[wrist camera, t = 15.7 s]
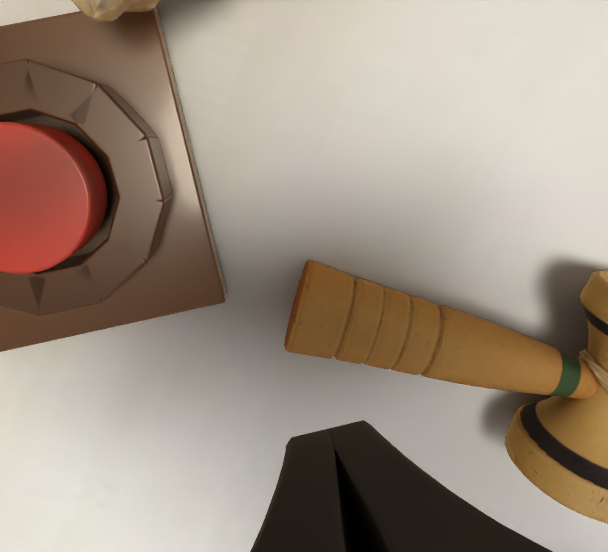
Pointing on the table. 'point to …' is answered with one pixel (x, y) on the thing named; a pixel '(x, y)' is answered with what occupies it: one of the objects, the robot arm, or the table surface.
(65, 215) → the power button
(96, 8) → the seashell
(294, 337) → the kendama
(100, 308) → the control block
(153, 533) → the table surface
